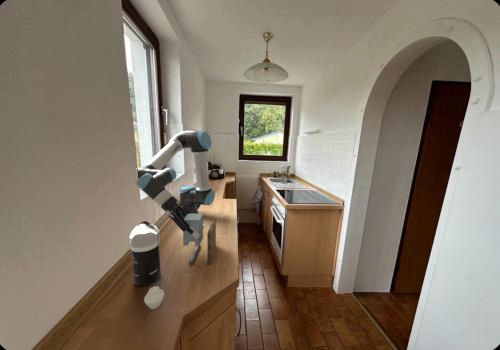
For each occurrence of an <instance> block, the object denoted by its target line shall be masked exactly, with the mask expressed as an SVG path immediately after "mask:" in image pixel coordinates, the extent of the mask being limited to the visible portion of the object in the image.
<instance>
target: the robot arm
mask: <svg viewBox="0 0 500 350" xmlns="http://www.w3.org/2000/svg"><path fill="white" fill-rule="evenodd" d="M211 146H212V138H211V136H210V134H209V132H207V131H205V130H185V131H184V130H183V131H181V132H179V133H177V134H175V135H174V136H172V138H170V140H169V141H168V144H166V145H165V146H164V147H163V148H162V149H161V150H160V151H159V152H157V154H155V155H154V156H153V157H152V159H150V160H149V161H148V162H147V163H146V164H145V165H144V166H142V167H137V168H138V178H139V179H138V181H136V185H137V187H138V188H139V189H140V190H141V191H142V192H143V193H145V194H146V195H147V197H149V198H150V199H151V200H153V202H154V203H155V204H157V205H158V206H159V207H160V208H161V209H162V210H163V211H164V212H166V213H167V212H169V214H168V218H170V219H171V220H172V222H174V223H175V225H176V226H177V227H178V228H179V229H180V230H181V231H182V232H183V231H186V230H187V231H188V232H189V233H190V234H191V235H192V236H193V237H194V238H195V239H197V238H198V237H199V236H200V234H199V233H198V232H197V231H196V230H195V229H194V228H193V227H192V226H189V225H188V223H187V222H186V221H185V220H184V218H185V217H186V215H187V214H199V210H198V207H197V205H202V206H211V205H212V204H213V202H214V201H215V198H216V192H215V190H213V189H212V185H211V184H210V179H209V170H208V169H209V166H208V156H207V155H208V154H207V153H208V152H209V149H210V148H211ZM184 149H190V152H191V153H192V154H193V158H194V160H193V161H194V170H195V171H194V172H195V178H196V180H195V181H196V185H187V186H183V187H180V189H179V200H178V199H177V198H176V197H175V196H174V195H172V193H171V192H170V191H169V190H167V188H166V187H167V185H169V184H171V183H173V181H174V180H176V179H177V176H178V175H177V172H176V170H175V169H174V168H172V167H165V166H166V165H167V164H168V163H169V162H170V161H171V160H172V159H173V158H174V157H175V155H177V154H178V153H179V152H182V151H183V150H184ZM164 167H165V168H164ZM178 201H179V204H178ZM204 228H205V226H204V225H203V229H204Z"/></svg>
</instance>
